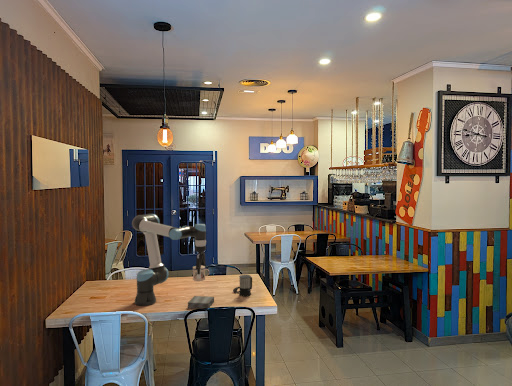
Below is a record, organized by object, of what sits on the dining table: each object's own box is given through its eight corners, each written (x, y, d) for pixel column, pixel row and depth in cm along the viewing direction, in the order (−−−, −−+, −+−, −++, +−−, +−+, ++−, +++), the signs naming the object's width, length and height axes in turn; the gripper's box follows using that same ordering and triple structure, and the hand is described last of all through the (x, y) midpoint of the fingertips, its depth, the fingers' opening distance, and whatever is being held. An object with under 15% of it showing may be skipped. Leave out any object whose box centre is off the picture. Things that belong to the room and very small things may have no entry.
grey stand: (187, 308, 261) (187, 302, 261) (194, 301, 276) (194, 295, 276) (208, 309, 259) (208, 303, 259) (214, 302, 274) (214, 296, 274)
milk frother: (249, 297, 285) (249, 277, 285) (229, 295, 289) (229, 276, 288) (253, 291, 299) (253, 273, 299) (234, 290, 303) (234, 272, 302)
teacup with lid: (193, 281, 262) (192, 265, 261) (192, 278, 271) (192, 262, 270) (210, 280, 264) (209, 264, 264) (209, 277, 273) (208, 261, 273)
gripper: (201, 248, 255) (201, 281, 256) (209, 243, 276) (210, 273, 277) (190, 248, 256) (191, 280, 257) (200, 243, 278) (200, 272, 278)
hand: (201, 276), depth 267 cm, fingers closed on teacup with lid, 9 cm apart
